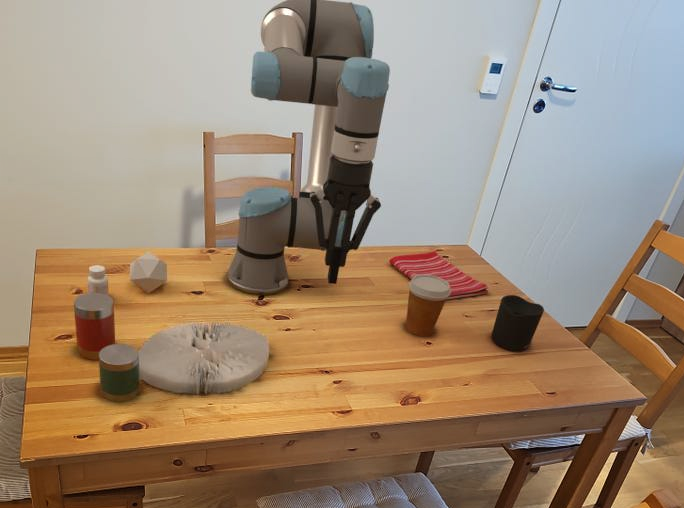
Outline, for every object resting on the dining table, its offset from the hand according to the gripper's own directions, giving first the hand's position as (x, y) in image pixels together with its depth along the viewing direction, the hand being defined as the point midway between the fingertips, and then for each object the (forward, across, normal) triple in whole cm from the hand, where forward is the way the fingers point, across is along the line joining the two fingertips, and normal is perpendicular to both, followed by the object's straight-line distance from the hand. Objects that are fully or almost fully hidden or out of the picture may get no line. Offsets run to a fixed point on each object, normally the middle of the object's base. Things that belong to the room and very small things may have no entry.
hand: (331, 280), depth 123 cm
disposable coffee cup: (+19, +25, +17) cm, 36 cm away
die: (+20, -39, +27) cm, 51 cm away
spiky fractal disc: (+19, -23, -4) cm, 30 cm away
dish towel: (+20, +36, +46) cm, 62 cm away
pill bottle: (+19, -49, +19) cm, 56 cm away
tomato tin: (+19, -45, -2) cm, 49 cm away
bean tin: (+18, -38, -15) cm, 45 cm away
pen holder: (+19, +46, +14) cm, 52 cm away
